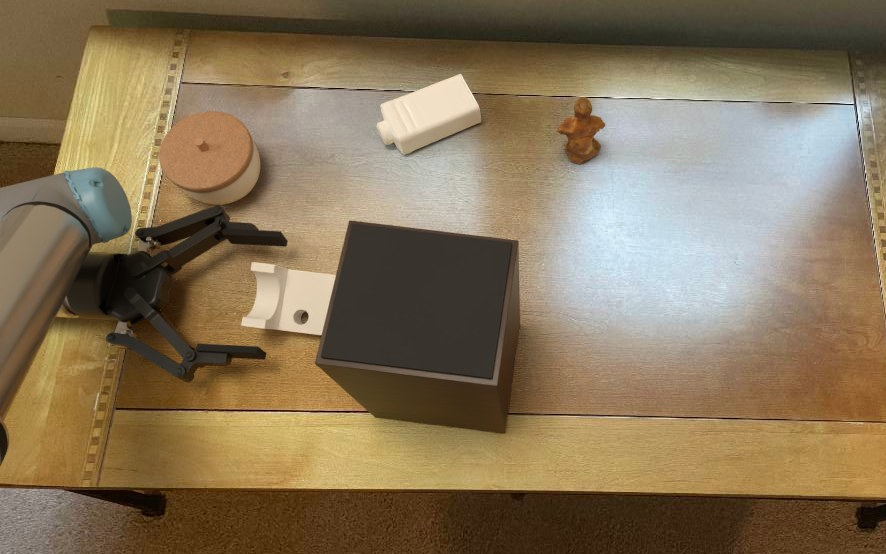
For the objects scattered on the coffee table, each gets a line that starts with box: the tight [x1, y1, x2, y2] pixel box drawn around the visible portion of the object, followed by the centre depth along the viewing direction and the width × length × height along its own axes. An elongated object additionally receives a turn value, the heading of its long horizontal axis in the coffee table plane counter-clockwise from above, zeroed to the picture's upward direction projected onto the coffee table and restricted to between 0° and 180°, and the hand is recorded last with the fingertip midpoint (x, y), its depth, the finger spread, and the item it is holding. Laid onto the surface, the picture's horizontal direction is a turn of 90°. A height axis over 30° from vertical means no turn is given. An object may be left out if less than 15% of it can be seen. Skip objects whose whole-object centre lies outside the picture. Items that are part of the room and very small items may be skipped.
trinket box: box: [158, 110, 262, 206], centre depth 87 cm, size 11×11×9 cm
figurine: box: [556, 96, 606, 165], centre depth 89 cm, size 5×6×12 cm
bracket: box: [241, 261, 336, 336], centre depth 82 cm, size 13×7×8 cm, turn 83°
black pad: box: [321, 224, 512, 379], centre depth 60 cm, size 12×14×1 cm
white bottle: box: [376, 73, 482, 155], centre depth 93 cm, size 6×13×4 cm, turn 117°
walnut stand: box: [314, 219, 521, 435], centre depth 72 cm, size 13×15×25 cm
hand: (273, 294), depth 80 cm, fingers open, 13 cm apart
